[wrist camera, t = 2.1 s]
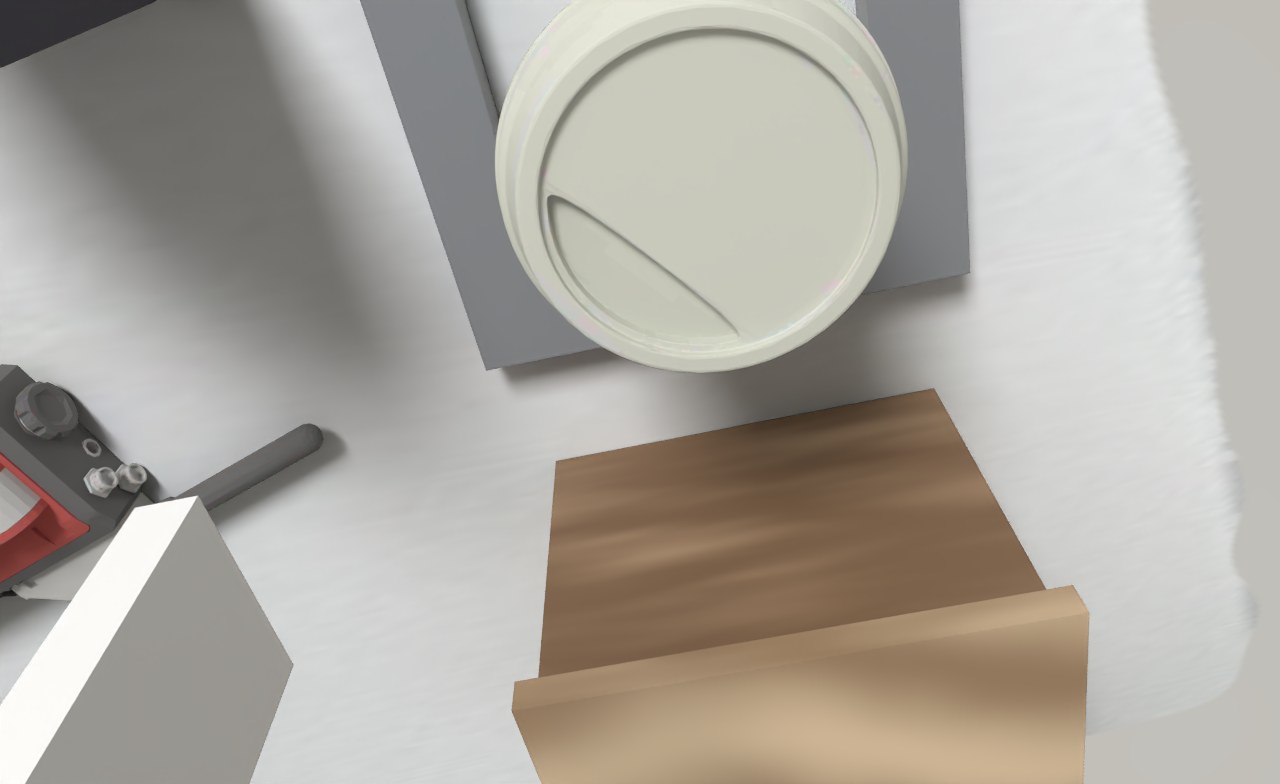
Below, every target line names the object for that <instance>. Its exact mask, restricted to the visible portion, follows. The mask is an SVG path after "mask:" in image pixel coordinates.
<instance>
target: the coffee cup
mask: <svg viewBox="0 0 1280 784" xmlns="http://www.w3.org/2000/svg"><path fill="white" fill-rule="evenodd" d="M907 169H908V142H907V131H906V124H905V119H904V114H903V110H902V106H901V101H900V97H899V93H898V90H897V87H896V84H895V81H894V78H893V76H892V73H891V71H890V68H889V66H888V64H887V62H886V60H885V58H884V56H883V54H882V52H881V50H880V48H879V47H878V45H877V43H876V42H875V40H874V39H873V37H872V36H871V35H870V33H869V32H868V30H867V29H866V28H865V26H864V25H863V24H862V23H861V22H860V20H859V19H858V18H857V17H856V16H855V15H854V14H853V13H852V12H851V11H850V10H849V9H848V8H847V7H846V6H845V5H844V4H843V3H842V2H841V1H840V0H573V1H572V2H571V3H570V4H569V5H567V6H566V7H565V8H564V9H563V10H562V11H561V12H560V13H559V14H558V15H557V16H556V17H555V18H554V19H553V20H552V21H551V22H550V23H549V24H548V25H547V26H546V27H545V29H544V30H543V31H542V32H541V34H540V35H539V36H538V37H537V39H536V40H535V41H534V43H533V44H532V46H531V47H530V49H529V50H528V52H527V53H526V55H525V57H524V58H523V60H522V62H521V63H520V65H519V67H518V69H517V71H516V73H515V75H514V77H513V80H512V82H511V84H510V87H509V89H508V92H507V95H506V97H505V101H504V104H503V107H502V111H501V115H500V119H499V124H498V130H497V137H496V146H495V176H496V186H497V193H498V199H499V204H500V208H501V212H502V216H503V220H504V224H505V227H506V230H507V233H508V236H509V238H510V241H511V244H512V247H513V249H514V251H515V253H516V255H517V257H518V259H519V261H520V263H521V265H522V267H523V268H524V270H525V272H526V273H527V275H528V276H529V278H530V279H531V281H532V282H533V284H534V285H535V286H536V288H537V289H538V290H539V291H540V293H541V294H542V295H543V296H544V297H545V298H546V300H547V301H548V302H549V303H550V304H551V305H552V306H553V307H554V308H555V309H556V310H557V311H558V312H559V313H560V314H562V315H563V317H564V318H565V319H566V320H567V321H568V322H569V323H571V324H572V325H573V326H574V327H575V328H576V329H578V330H579V331H580V332H581V333H582V334H584V335H585V336H586V337H587V338H589V339H590V340H592V341H593V342H595V343H597V344H598V345H600V346H601V347H603V348H605V349H607V350H608V351H610V352H612V353H614V354H616V355H618V356H621V357H623V358H626V359H628V360H631V361H633V362H636V363H638V364H642V365H646V366H650V367H654V368H657V369H662V370H669V371H676V372H683V373H713V372H722V371H731V370H736V369H741V368H746V367H750V366H753V365H757V364H760V363H764V362H767V361H769V360H772V359H774V358H777V357H779V356H782V355H784V354H786V353H788V352H790V351H792V350H794V349H796V348H798V347H800V346H802V345H803V344H805V343H807V342H808V341H810V340H811V339H812V338H814V337H815V336H817V335H818V334H820V333H821V332H823V331H824V330H825V329H827V328H828V327H829V326H830V325H831V324H833V323H834V322H835V321H836V320H837V319H838V318H839V317H840V316H841V315H842V314H843V313H844V312H846V311H847V310H848V308H849V307H850V306H851V305H852V304H853V303H854V301H855V300H856V299H857V298H858V297H859V296H860V295H861V293H862V292H863V290H864V289H865V287H866V286H867V285H868V283H869V282H870V280H871V279H872V277H873V276H874V274H875V272H876V270H877V268H878V266H879V265H880V263H881V261H882V259H883V257H884V255H885V252H886V250H887V247H888V245H889V242H890V240H891V237H892V234H893V230H894V227H895V225H896V222H897V219H898V216H899V213H900V209H901V206H902V202H903V197H904V192H905V187H906V179H907Z"/></svg>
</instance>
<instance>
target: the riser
mask: <svg viewBox="0 0 1280 784" xmlns="http://www.w3.org/2000/svg"><path fill="white" fill-rule="evenodd" d="M1088 635H1089V611H1088V609H1087V608H1086V606H1085V604H1084V603H1083V601H1082V599H1081V598H1080V596H1079V594H1078V593H1077V591H1076V589H1075V588H1074V586H1073V585H1071V586H1065V587H1059V588H1054V589H1048V590H1046V588H1045V586H1044V585H1043V583H1042V581H1041V579H1040V578H1039V576H1038V574H1037V572H1036V570H1035V569H1034V567H1033V565H1032V563H1031V561H1030V560H1029V558H1028V556H1027V554H1026V552H1025V551H1024V549H1023V547H1022V545H1021V543H1020V542H1019V540H1018V538H1017V536H1016V535H1015V533H1014V531H1013V529H1012V527H1011V526H1010V524H1009V522H1008V520H1007V518H1006V517H1005V515H1004V513H1003V511H1002V509H1001V508H1000V506H999V504H998V502H997V500H996V499H995V497H994V495H993V493H992V492H991V490H990V488H989V486H988V484H987V483H986V481H985V479H984V477H983V475H982V474H981V472H980V470H979V468H978V466H977V465H976V463H975V461H974V459H973V457H972V456H971V454H970V452H969V450H968V449H967V447H966V445H965V443H964V441H963V440H962V438H961V436H960V434H959V432H958V431H957V429H956V427H955V425H954V423H953V422H952V420H951V418H950V416H949V414H948V413H947V411H946V409H945V407H944V406H943V404H942V402H941V400H940V398H939V397H938V395H937V393H936V391H935V389H929V390H924V391H919V392H914V393H909V394H903V395H898V396H893V397H888V398H883V399H877V400H872V401H867V402H862V403H857V404H851V405H846V406H841V407H836V408H831V409H825V410H820V411H815V412H810V413H805V414H799V415H794V416H789V417H784V418H779V419H773V420H768V421H763V422H758V423H753V424H747V425H742V426H737V427H732V428H727V429H721V430H716V431H711V432H706V433H701V434H695V435H690V436H685V437H680V438H675V439H669V440H664V441H659V442H654V443H649V444H643V445H638V446H633V447H628V448H623V449H617V450H612V451H607V452H602V453H597V454H591V455H586V456H581V457H576V458H571V459H565V460H560V461H556V469H555V481H554V493H553V505H552V518H551V530H550V542H549V555H548V567H547V579H546V591H545V604H544V616H543V628H542V640H541V653H540V665H539V677H538V678H534V679H528V680H522V681H517V682H515V684H514V694H513V703H512V713H513V715H514V718H515V720H516V723H517V725H518V728H519V730H520V732H521V735H522V737H523V740H524V742H525V745H526V747H527V750H528V752H529V754H530V757H531V759H532V762H533V764H534V767H535V769H536V771H537V774H538V776H539V779H540V781H541V784H1083V780H1084V751H1085V722H1086V693H1087V664H1088Z"/></svg>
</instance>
